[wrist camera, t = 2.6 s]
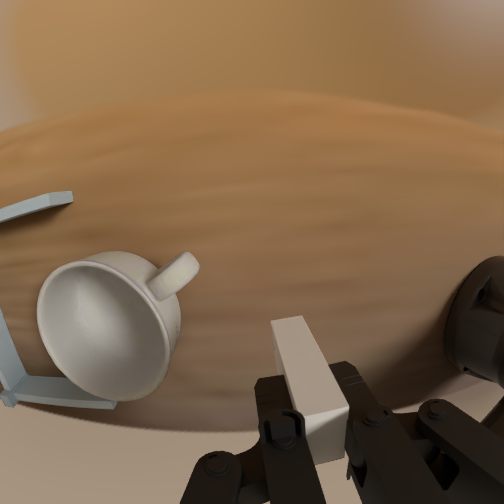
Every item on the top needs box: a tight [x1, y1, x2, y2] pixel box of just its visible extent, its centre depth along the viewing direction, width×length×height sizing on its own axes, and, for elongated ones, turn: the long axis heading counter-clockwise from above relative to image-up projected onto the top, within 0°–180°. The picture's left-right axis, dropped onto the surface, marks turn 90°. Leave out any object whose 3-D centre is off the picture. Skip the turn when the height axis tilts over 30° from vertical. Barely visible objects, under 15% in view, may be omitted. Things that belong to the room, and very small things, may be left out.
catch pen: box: [0, 191, 118, 409], centre depth 23 cm, size 15×21×5 cm
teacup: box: [37, 251, 199, 401], centre depth 22 cm, size 14×11×8 cm
